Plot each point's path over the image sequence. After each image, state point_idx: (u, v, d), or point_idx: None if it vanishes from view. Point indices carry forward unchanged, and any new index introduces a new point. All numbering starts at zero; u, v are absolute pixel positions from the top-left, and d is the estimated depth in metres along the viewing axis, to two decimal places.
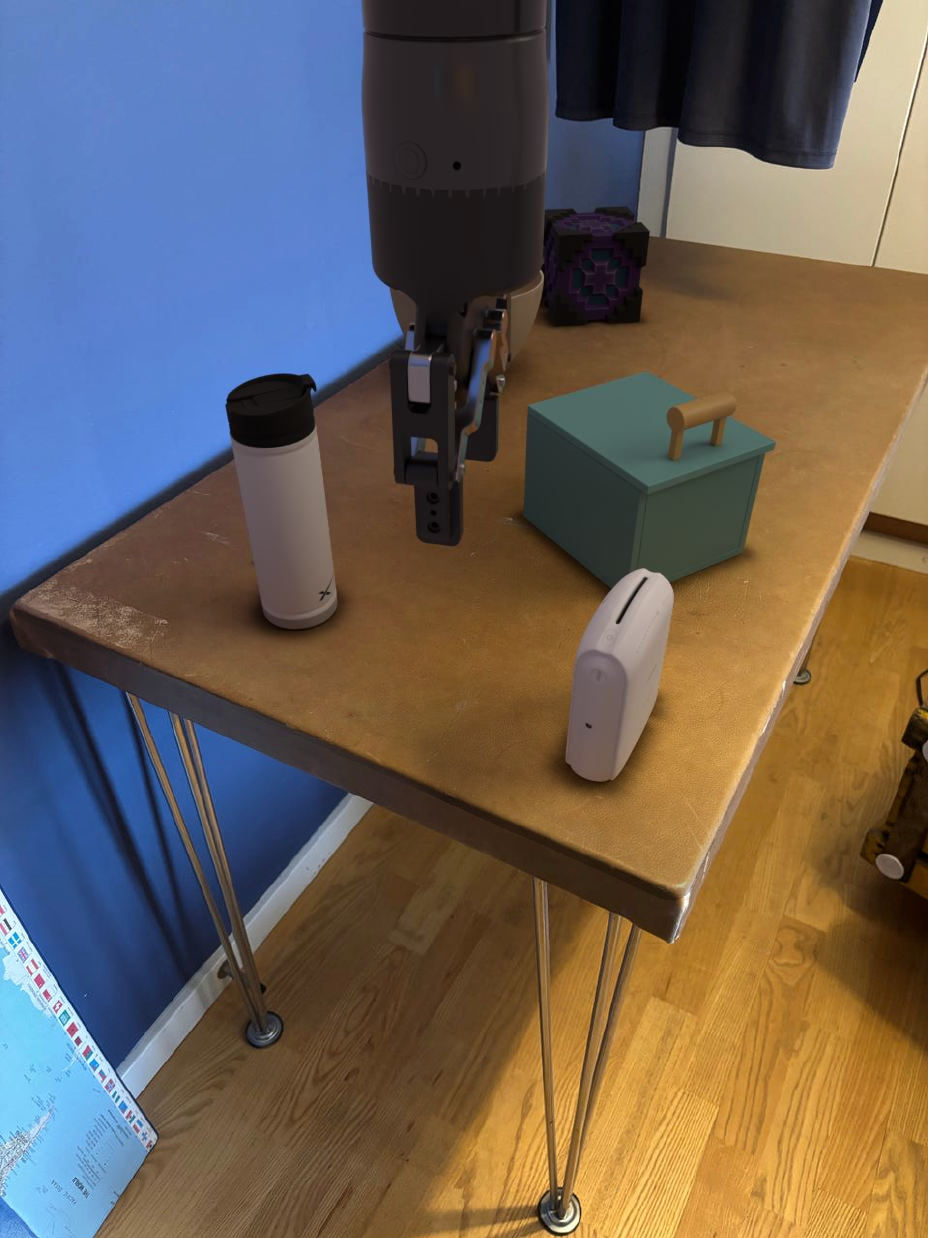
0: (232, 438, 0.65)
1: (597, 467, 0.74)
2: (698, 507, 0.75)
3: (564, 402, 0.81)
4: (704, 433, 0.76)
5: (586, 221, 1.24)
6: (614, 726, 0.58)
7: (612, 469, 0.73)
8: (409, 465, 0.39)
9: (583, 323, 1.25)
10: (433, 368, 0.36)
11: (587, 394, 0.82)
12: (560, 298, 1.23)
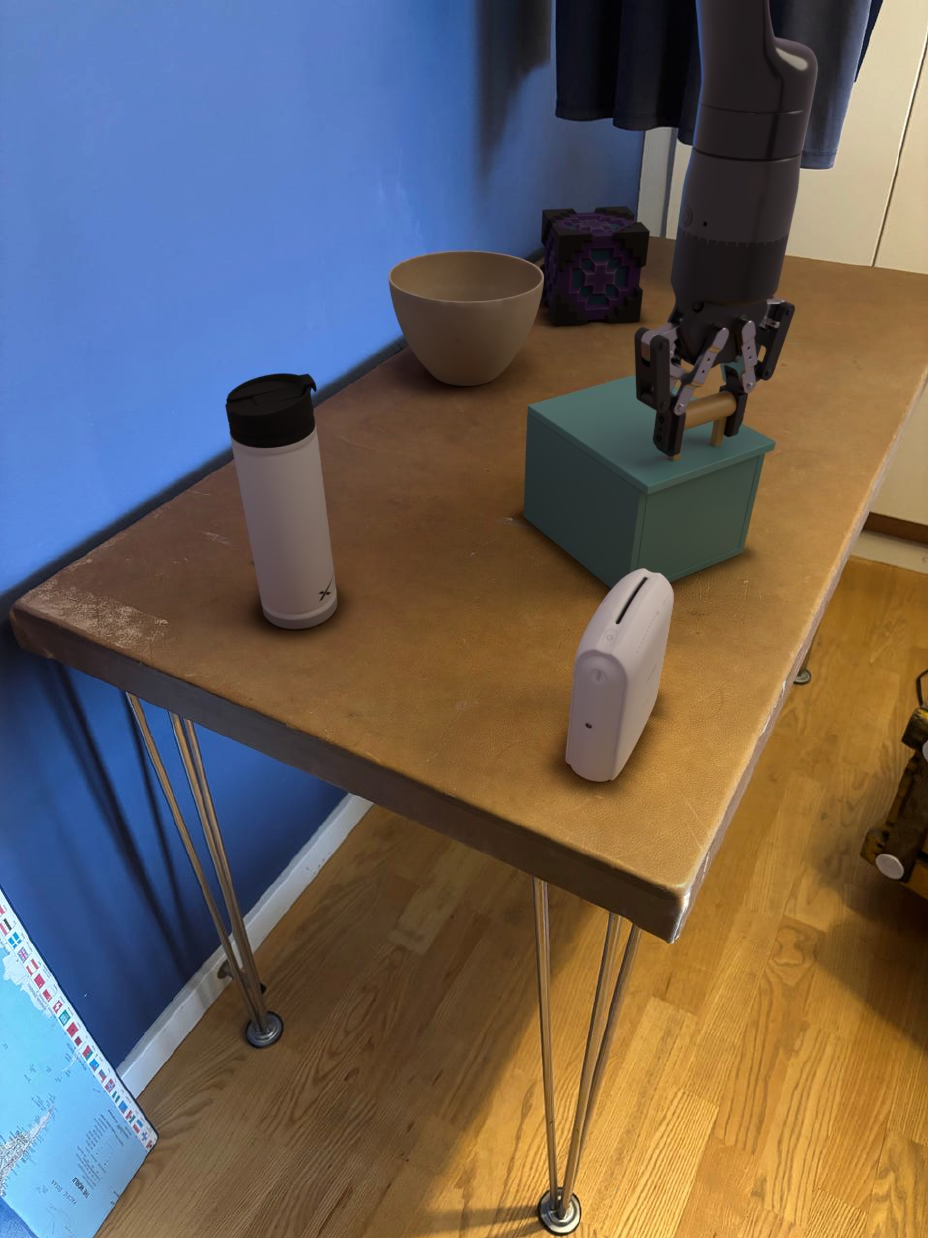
0: (232, 438, 0.65)
1: (597, 467, 0.74)
2: (698, 507, 0.75)
3: (564, 402, 0.81)
4: (704, 433, 0.76)
5: (586, 221, 1.24)
6: (614, 726, 0.58)
7: (612, 469, 0.73)
8: (645, 391, 0.68)
9: (583, 323, 1.25)
10: (651, 344, 0.64)
11: (587, 394, 0.82)
12: (560, 298, 1.23)
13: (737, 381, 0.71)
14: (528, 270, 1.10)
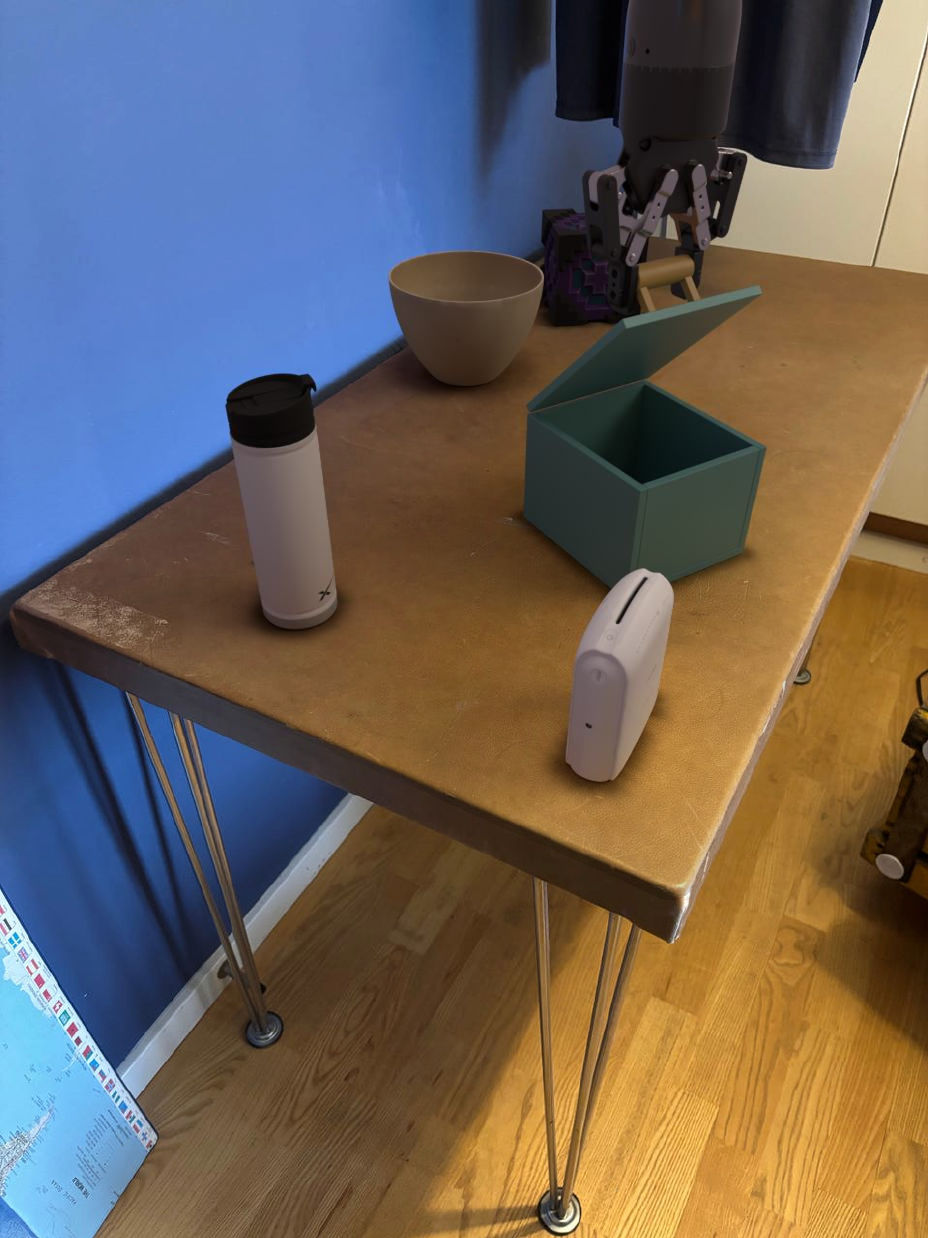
0: (232, 438, 0.65)
1: (597, 467, 0.74)
2: (698, 507, 0.75)
3: None
4: None
5: None
6: (614, 726, 0.58)
7: (595, 352, 0.69)
8: (596, 241, 0.67)
9: (583, 323, 1.25)
10: (598, 183, 0.63)
11: None
12: (560, 298, 1.23)
13: (692, 238, 0.70)
14: (528, 270, 1.10)
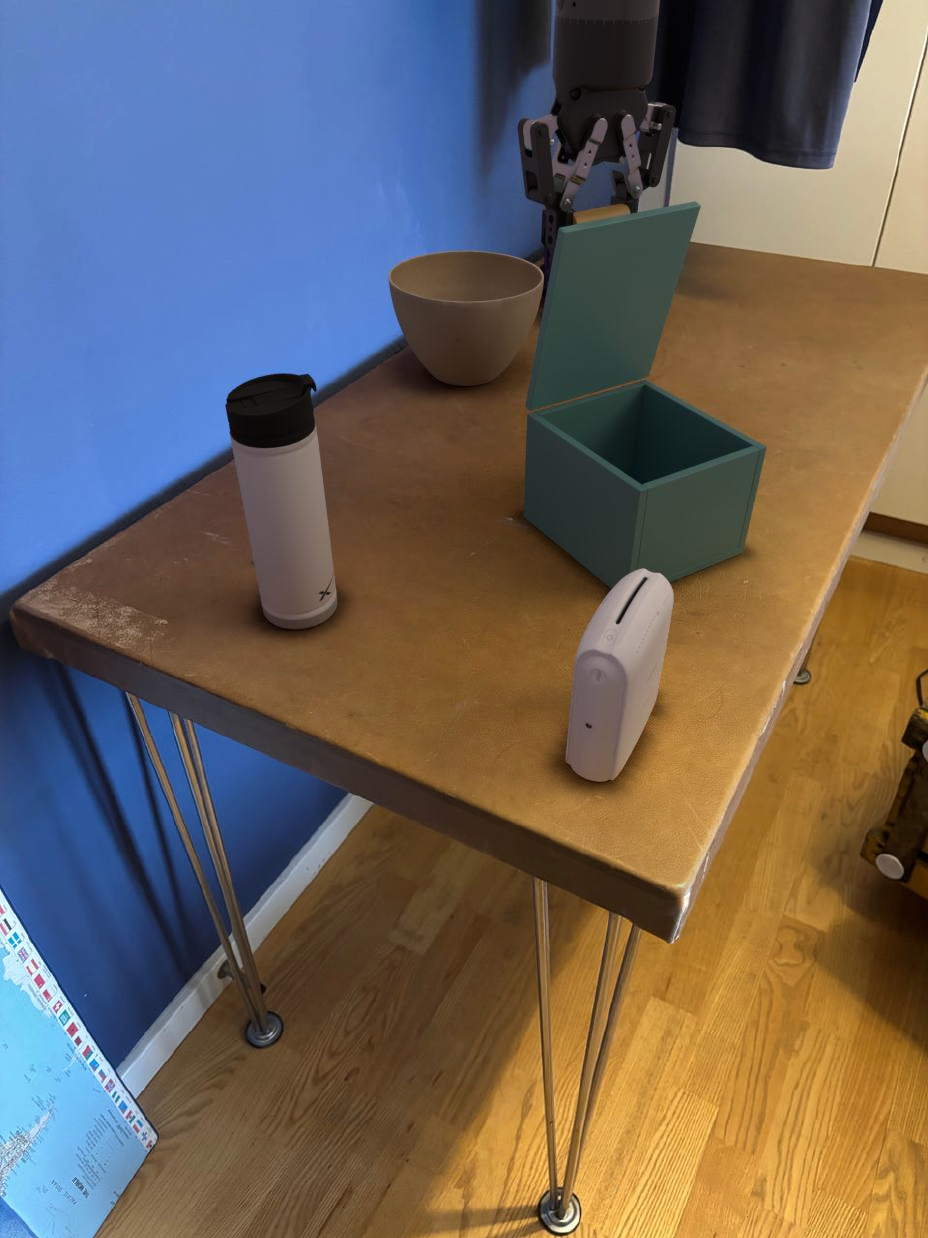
0: (232, 438, 0.65)
1: (597, 467, 0.74)
2: (698, 507, 0.75)
3: None
4: None
5: None
6: (614, 726, 0.58)
7: (552, 283, 0.71)
8: (532, 187, 0.71)
9: None
10: (531, 130, 0.67)
11: None
12: None
13: (625, 186, 0.75)
14: (528, 270, 1.10)
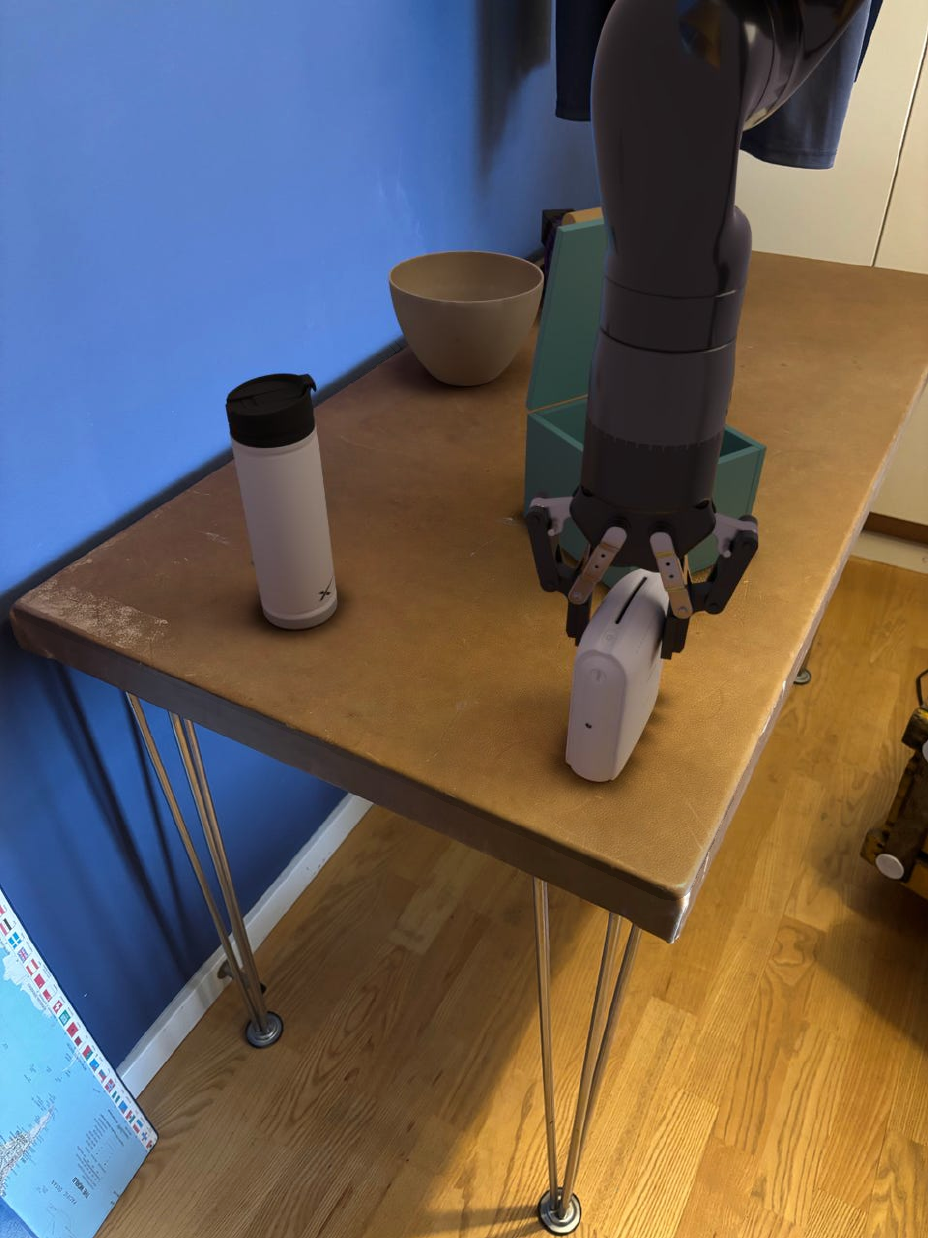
0: (232, 438, 0.65)
1: None
2: None
3: None
4: None
5: None
6: (614, 726, 0.58)
7: (551, 282, 0.71)
8: None
9: None
10: None
11: None
12: None
13: None
14: (528, 270, 1.10)
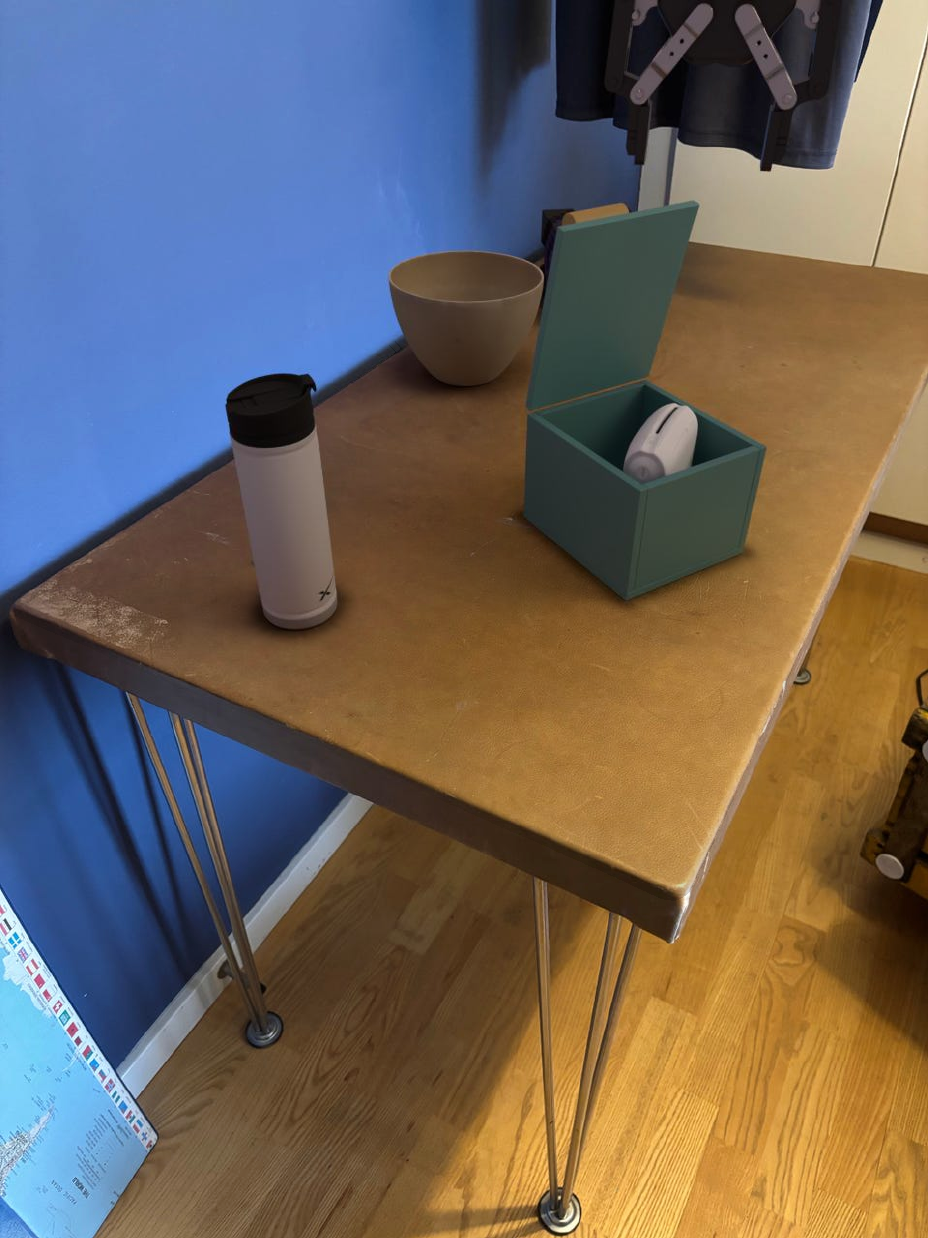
0: (232, 438, 0.65)
1: (597, 467, 0.74)
2: (698, 507, 0.75)
3: None
4: None
5: None
6: None
7: (551, 282, 0.71)
8: None
9: None
10: None
11: None
12: None
13: None
14: (528, 270, 1.10)
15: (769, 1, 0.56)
